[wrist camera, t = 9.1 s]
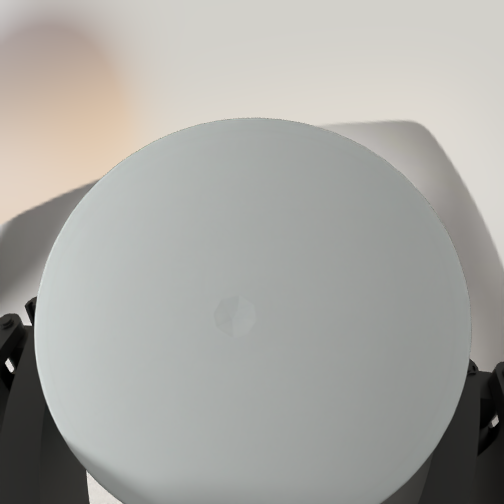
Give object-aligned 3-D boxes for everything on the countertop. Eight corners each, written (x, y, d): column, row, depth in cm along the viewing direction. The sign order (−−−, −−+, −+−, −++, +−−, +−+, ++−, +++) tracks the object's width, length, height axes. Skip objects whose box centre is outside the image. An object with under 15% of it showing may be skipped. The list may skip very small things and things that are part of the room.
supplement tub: (263, 255, 20) (252, 69, 7) (358, 344, 17) (527, 283, 4) (165, 345, 18) (-11, 288, 5) (258, 443, 15) (234, 598, 2)
